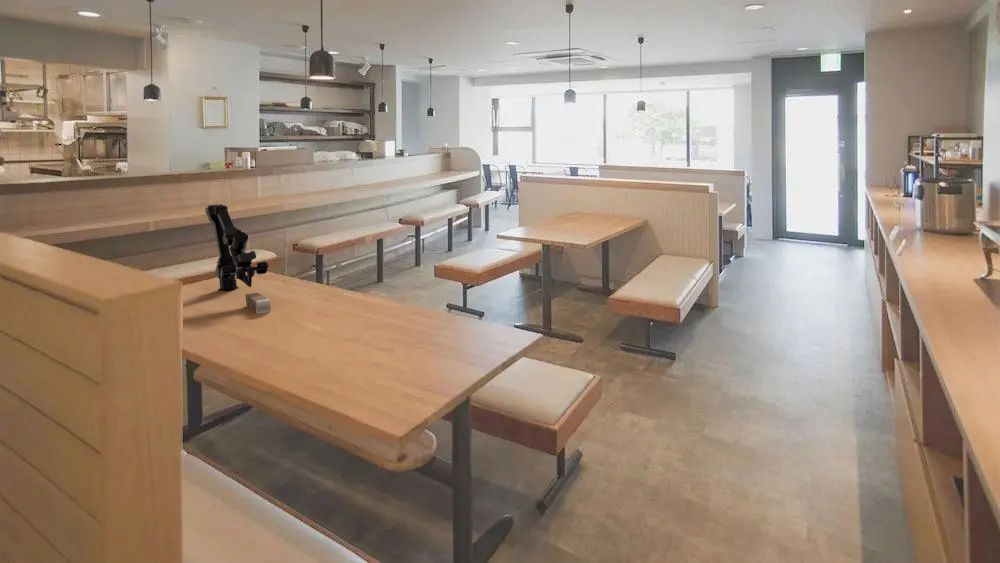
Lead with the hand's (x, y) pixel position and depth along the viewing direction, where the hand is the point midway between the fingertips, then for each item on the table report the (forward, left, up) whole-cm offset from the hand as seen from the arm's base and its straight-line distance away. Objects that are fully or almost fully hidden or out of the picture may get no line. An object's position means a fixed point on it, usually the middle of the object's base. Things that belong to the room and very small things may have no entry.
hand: (250, 286), depth 260 cm
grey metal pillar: (+1, 0, -5) cm, 5 cm away
